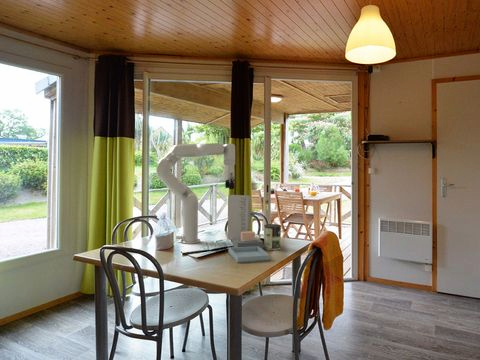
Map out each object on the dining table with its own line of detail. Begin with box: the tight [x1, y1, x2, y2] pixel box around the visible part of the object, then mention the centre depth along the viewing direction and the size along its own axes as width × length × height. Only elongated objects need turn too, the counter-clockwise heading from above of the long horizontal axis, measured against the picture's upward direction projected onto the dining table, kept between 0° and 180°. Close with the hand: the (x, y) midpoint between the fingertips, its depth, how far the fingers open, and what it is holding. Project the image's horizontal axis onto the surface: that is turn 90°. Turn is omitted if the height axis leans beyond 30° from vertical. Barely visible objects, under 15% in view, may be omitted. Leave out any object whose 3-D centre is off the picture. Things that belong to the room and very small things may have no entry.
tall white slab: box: [227, 194, 252, 241], centre depth 228 cm, size 14×6×30 cm, turn 73°
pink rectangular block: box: [241, 230, 256, 240], centre depth 205 cm, size 8×3×10 cm, turn 106°
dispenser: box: [232, 236, 264, 250], centre depth 205 cm, size 16×12×6 cm
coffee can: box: [263, 223, 282, 251], centre depth 206 cm, size 10×10×14 cm
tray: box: [228, 246, 271, 264], centre depth 187 cm, size 18×20×3 cm
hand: (229, 188), depth 222 cm, fingers open, 9 cm apart
